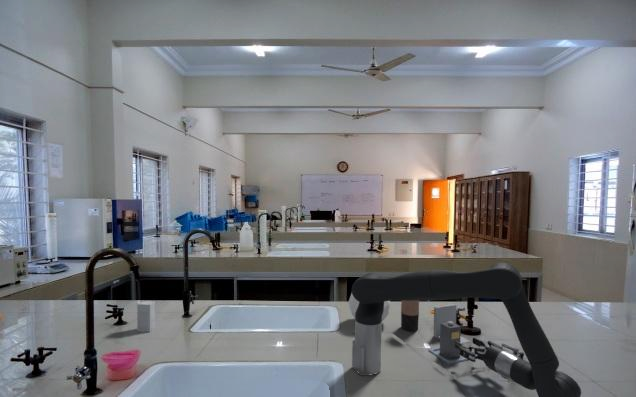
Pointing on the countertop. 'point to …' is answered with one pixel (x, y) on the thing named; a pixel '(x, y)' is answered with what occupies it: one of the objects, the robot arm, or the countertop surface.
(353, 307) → the polyhedron
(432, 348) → the blue-grey square frame
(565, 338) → the countertop surface
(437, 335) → the bay
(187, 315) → the countertop surface
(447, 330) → the grey box bottle
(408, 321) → the travel mug
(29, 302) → the countertop surface
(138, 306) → the skincare box
